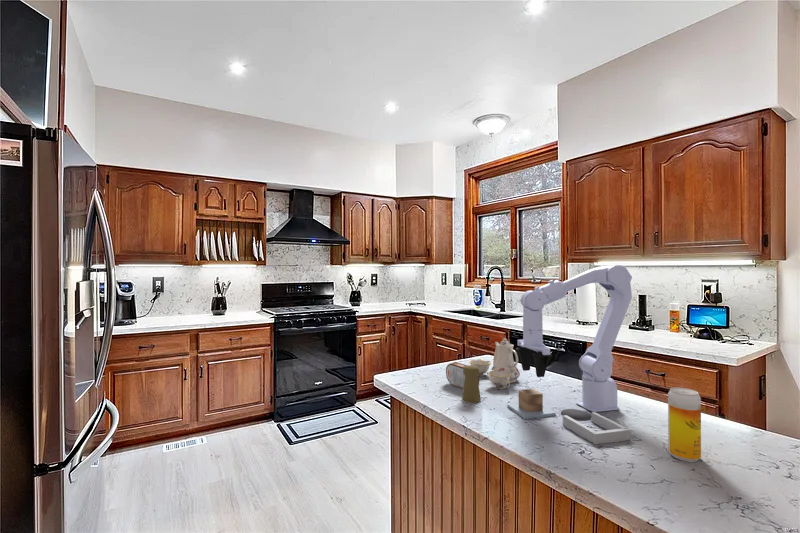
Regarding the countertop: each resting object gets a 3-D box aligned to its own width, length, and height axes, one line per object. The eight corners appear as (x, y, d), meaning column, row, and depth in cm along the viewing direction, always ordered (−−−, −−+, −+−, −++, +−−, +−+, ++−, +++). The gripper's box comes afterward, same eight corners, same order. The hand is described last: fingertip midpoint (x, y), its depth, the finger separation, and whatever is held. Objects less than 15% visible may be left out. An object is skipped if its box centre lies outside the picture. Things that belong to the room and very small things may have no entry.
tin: (480, 392, 138) (479, 368, 138) (473, 394, 136) (473, 369, 136) (450, 382, 150) (450, 359, 150) (444, 383, 148) (444, 360, 148)
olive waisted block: (480, 403, 126) (480, 368, 126) (461, 402, 128) (461, 368, 128) (480, 397, 132) (480, 364, 132) (462, 396, 134) (462, 363, 134)
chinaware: (463, 376, 163) (459, 336, 163) (498, 369, 168) (495, 330, 167) (499, 398, 136) (494, 350, 136) (540, 388, 141) (536, 342, 141)
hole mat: (578, 408, 121) (578, 407, 121) (597, 418, 113) (597, 417, 113) (555, 411, 119) (555, 410, 119) (573, 421, 111) (573, 420, 111)
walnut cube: (533, 404, 123) (533, 388, 123) (542, 410, 118) (542, 393, 118) (518, 406, 121) (518, 390, 121) (527, 412, 116) (527, 395, 116)
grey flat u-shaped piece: (595, 421, 112) (595, 412, 112) (630, 439, 100) (630, 429, 100) (562, 424, 109) (562, 415, 109) (595, 444, 97) (595, 434, 97)
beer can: (702, 465, 87) (702, 396, 87) (668, 458, 90) (668, 392, 90) (699, 454, 92) (699, 389, 92) (667, 448, 95) (667, 385, 95)
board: (536, 404, 126) (536, 401, 126) (555, 415, 116) (555, 412, 116) (507, 406, 123) (507, 404, 123) (524, 418, 113) (524, 416, 113)
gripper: (509, 326, 129) (509, 368, 129) (534, 333, 115) (535, 380, 115) (528, 325, 131) (528, 366, 131) (556, 332, 117) (556, 378, 117)
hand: (533, 373), depth 123 cm, fingers open, 7 cm apart
